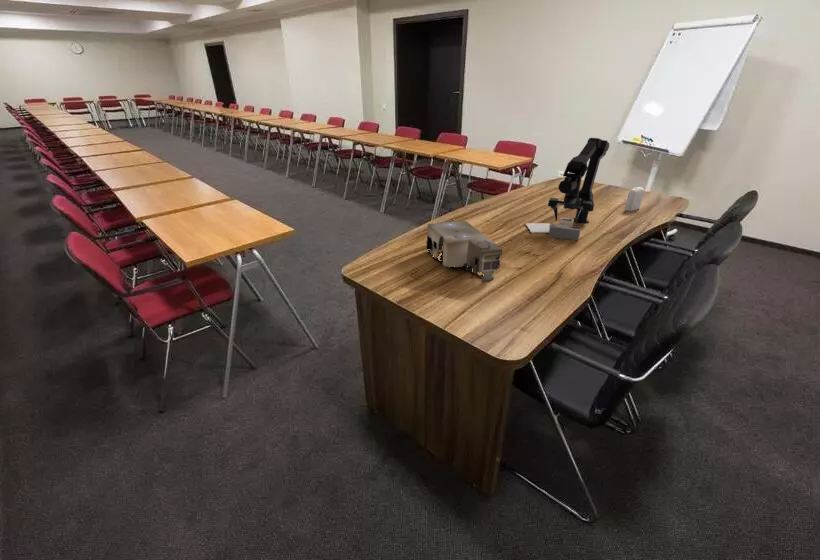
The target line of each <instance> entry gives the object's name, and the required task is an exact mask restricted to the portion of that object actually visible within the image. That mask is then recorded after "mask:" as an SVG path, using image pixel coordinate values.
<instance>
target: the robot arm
mask: <svg viewBox="0 0 820 560" xmlns="http://www.w3.org/2000/svg"><path fill="white" fill-rule="evenodd" d="M609 149H610V142H609V141H608V140H605V139H602V138H599V137H590V138H587V142H586V144H585V146H584V147H583V148H582V150H581V151H580V153H579V154H578V155H577V156H573V157H572V158H571V159H570V160H569V162H568V163H567V164H566V167H565V171H564V172H563V174H562V176H563V177H564V179H563V180H561V181H560V182H559V184H558V191H559V192H560V193H562V194H564V198H563V200H559V198H557V197H550V198H549V200H548V203H547V207H550V209H552V210H553V212H554V218H555V221H558V214H559V211H558V209H559V206H563V209H566V210H568V209H569V210H575V209H576V211H575V217H572V218H571V219H574V221H573V222H575V223H576V224H578V223H580V224H581V223H582V224H583V223H585V224H589V223H590V221H589V219H588V216H589V213H590V212H593V211H594V208H595V203H594V202H595V201H594V193H593V187H594V184H595V180H596V175H597V172H598V169H599V166H600V163H601V160H602V159H603V158H604V157H605V156H606V154H607V152H608V150H609ZM588 161H589V162H588ZM583 177H584V179H582V178H583ZM582 180H583V183H582ZM581 183H582V186H581Z"/></svg>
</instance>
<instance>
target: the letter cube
mask: <svg viewBox="0 0 820 560" xmlns="http://www.w3.org/2000/svg"><path fill="white" fill-rule="evenodd" d="M574 222H575V221H574V219H572V218H568V217H560V218H559V223H558V225H565V226H574Z"/></svg>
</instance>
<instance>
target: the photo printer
mask: <svg viewBox="0 0 820 560" xmlns="http://www.w3.org/2000/svg"><path fill="white" fill-rule="evenodd" d="M644 194H645V188H644V187H642V186H635V187H633V188H631V189H630V191H629V192H628V194H627V199H626V202H625V206H624V210H625V211H627V212H633V211H636V210H639V209H640V208H641V205H642V201H643V198H644Z"/></svg>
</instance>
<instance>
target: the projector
mask: <svg viewBox="0 0 820 560" xmlns="http://www.w3.org/2000/svg"><path fill="white" fill-rule="evenodd" d="M426 229H427V230H426V233H427V237H426V241H425V242H426V243H425V244H426V248H425V249H426V250H427V249H430V250H428V251H429V252H430V253H431V254H430V253H429V254H430V256H431V255H432V256H433V254H434V258H433V259H437V260H438V258H437V257H438V256H439V252H440V251H441V253H443V254H442V255H441V256H440V257H441V258H440V260H442V261H443V262H442V266H443V267H445V268H446V269H451V268H450V267H454V266H455V267H454V268H453V269H459V268H458V267H464V268H465V269H464V268H463V269H464V271H469V270H470V271H471V272H470V271H469V272H470V273H471V274H473V273H474V274H476V275H477V274H478V272H479V273H480V272H482V273H484V276H483V275H480V276H478V277H479V278H480V277H481V278H482V279H481V278H480V279H481V281H482V282H487V281H492V280H495V277H494V275H493V274H494V272H495V271H497V270H499V269H500V268H501V264H500V263H501V260H500V259H501V256H502V255H503V249H502V248H501V247H500V246H499V245H498V244H497V243H495V242H494V241H493V240H492V239H491V238H489V237H488V236H486V234H484V233H483V232H481V230H479V229H478V228H476V227H474V226H473V225H472V224H470V223H469V222H468V221H466V220H457V221H445V222H436V223H428V224H427V228H426ZM432 256H431V257H432ZM437 260H436V261H437ZM438 261H439V260H438ZM438 261H437V262H438ZM467 266H468V267H467ZM472 268H473V272H472Z"/></svg>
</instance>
